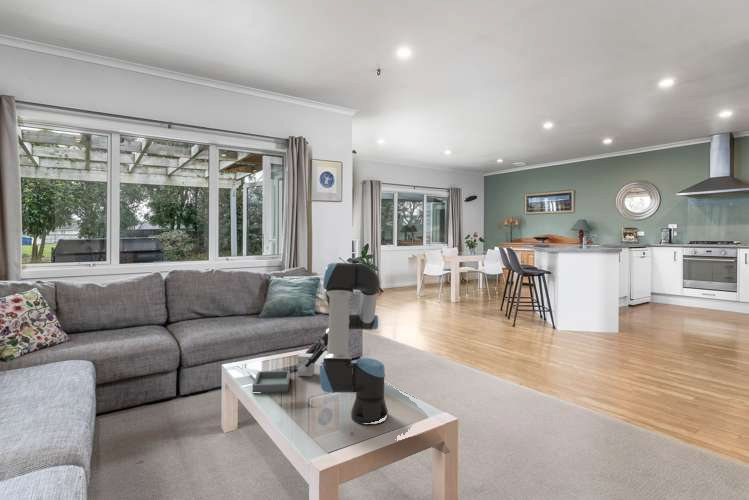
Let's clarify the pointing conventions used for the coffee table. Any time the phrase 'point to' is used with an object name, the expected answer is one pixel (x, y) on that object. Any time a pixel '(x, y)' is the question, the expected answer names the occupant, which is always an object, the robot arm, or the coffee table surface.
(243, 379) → the coffee table surface
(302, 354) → the small box
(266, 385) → the tray
